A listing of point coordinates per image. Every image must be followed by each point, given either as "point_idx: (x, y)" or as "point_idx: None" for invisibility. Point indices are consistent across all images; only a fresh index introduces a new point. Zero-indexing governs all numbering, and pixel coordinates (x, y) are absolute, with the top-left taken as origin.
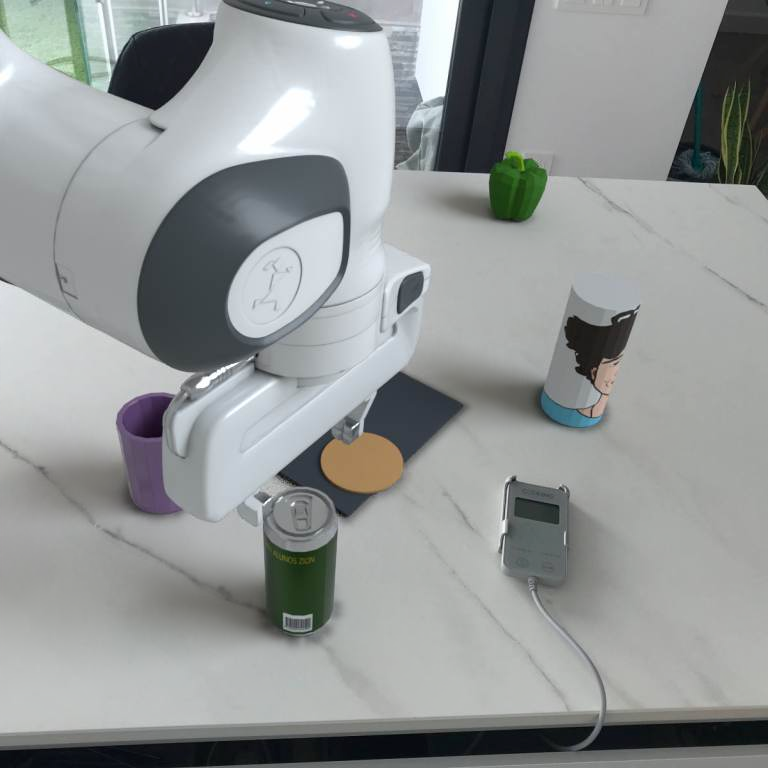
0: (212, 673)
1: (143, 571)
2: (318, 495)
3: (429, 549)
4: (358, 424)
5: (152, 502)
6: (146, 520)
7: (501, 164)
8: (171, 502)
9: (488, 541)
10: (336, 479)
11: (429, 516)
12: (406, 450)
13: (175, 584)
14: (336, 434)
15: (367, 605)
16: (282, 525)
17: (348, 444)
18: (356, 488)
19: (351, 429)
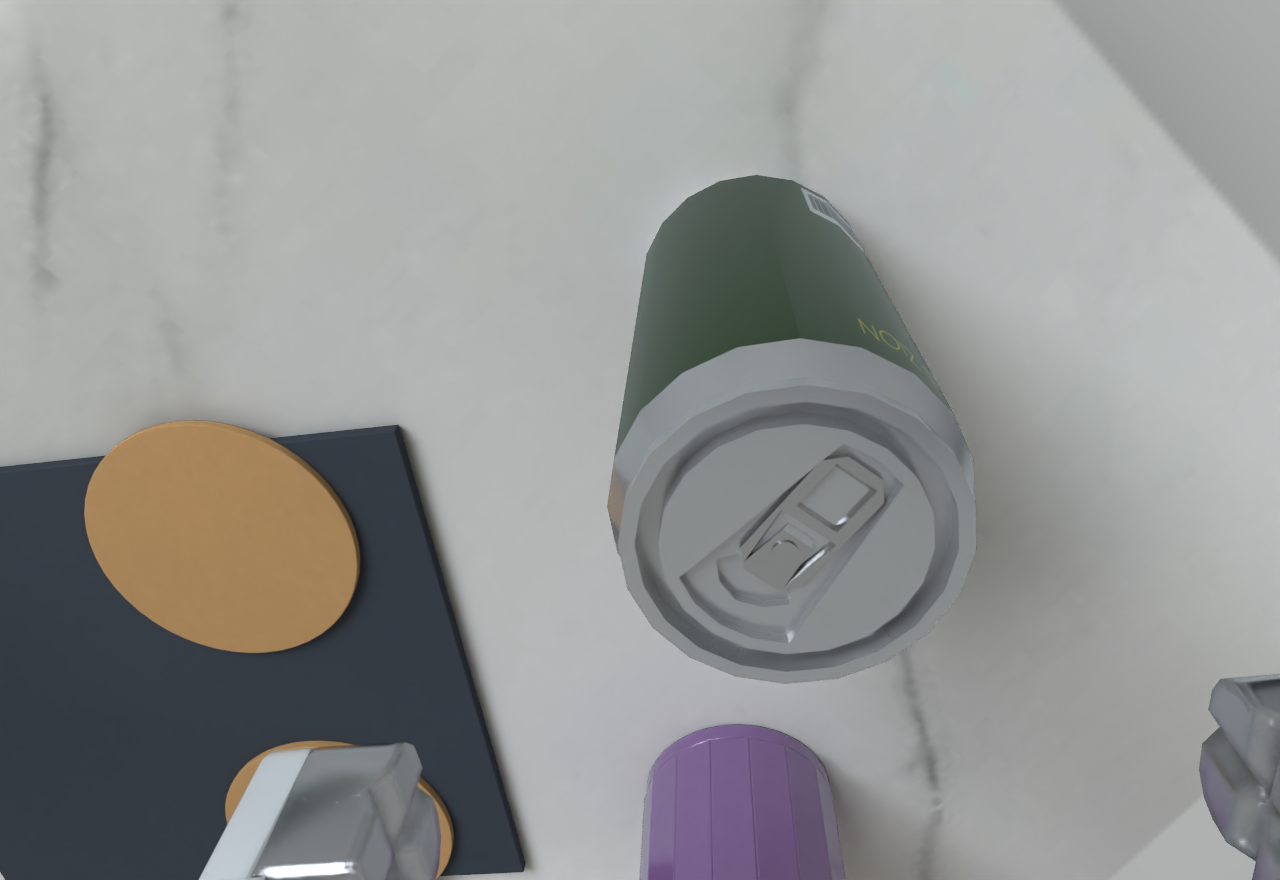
0: (1084, 294)
1: (960, 647)
2: (641, 563)
3: (244, 148)
4: (271, 862)
5: (820, 790)
6: (842, 750)
7: None
8: (782, 763)
9: (23, 12)
10: (339, 546)
11: (156, 248)
12: (61, 487)
13: None
14: (425, 843)
15: (573, 136)
16: (922, 548)
17: (407, 746)
18: (306, 484)
19: (354, 868)
